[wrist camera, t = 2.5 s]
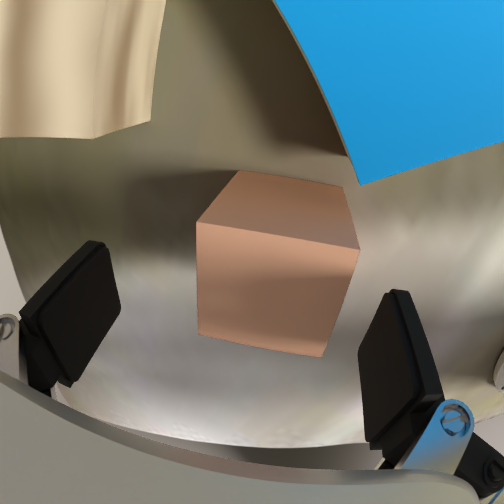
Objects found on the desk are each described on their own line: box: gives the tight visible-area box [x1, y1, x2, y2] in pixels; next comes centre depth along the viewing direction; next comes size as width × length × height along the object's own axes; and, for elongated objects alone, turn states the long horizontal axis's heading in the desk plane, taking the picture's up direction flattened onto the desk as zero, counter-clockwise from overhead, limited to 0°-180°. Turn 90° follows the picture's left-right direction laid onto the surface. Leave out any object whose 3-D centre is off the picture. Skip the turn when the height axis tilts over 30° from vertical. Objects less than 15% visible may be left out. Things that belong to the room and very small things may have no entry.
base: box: [0, 0, 166, 139], centre depth 9 cm, size 10×10×5 cm
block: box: [196, 170, 360, 358], centre depth 13 cm, size 5×5×6 cm
